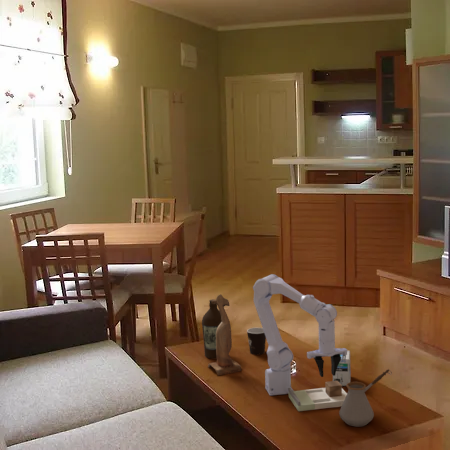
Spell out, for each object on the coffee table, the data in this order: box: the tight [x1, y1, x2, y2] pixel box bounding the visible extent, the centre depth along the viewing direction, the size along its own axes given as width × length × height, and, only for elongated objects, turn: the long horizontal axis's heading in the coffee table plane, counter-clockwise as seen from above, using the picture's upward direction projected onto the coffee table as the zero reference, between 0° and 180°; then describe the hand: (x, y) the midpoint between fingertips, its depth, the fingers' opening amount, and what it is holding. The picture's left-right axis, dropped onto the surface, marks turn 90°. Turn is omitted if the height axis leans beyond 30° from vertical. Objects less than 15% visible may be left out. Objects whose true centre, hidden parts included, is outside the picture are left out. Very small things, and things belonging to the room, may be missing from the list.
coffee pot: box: [338, 368, 393, 428], centre depth 229 cm, size 21×12×15 cm, turn 121°
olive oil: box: [201, 298, 222, 360], centre depth 296 cm, size 11×11×25 cm
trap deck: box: [288, 387, 348, 412], centre depth 245 cm, size 20×13×4 cm, turn 100°
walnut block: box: [324, 380, 343, 397], centre depth 245 cm, size 5×5×4 cm
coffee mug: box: [246, 327, 267, 356], centre depth 300 cm, size 12×9×10 cm
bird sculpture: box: [207, 294, 242, 376], centre depth 278 cm, size 11×12×32 cm
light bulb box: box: [332, 350, 352, 387], centre depth 262 cm, size 11×7×11 cm, turn 168°
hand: (327, 375), depth 244 cm, fingers open, 4 cm apart
